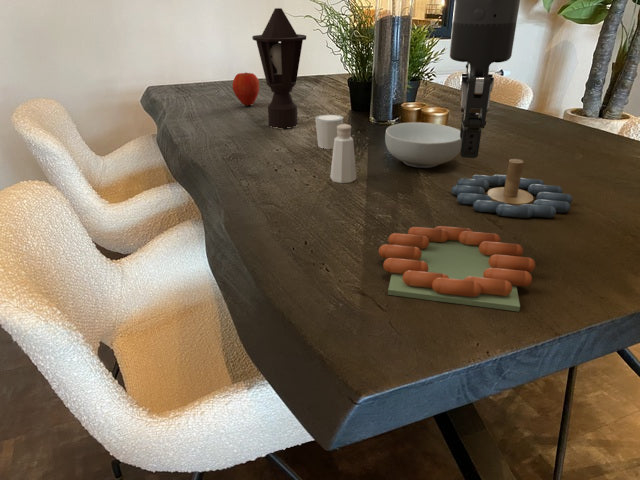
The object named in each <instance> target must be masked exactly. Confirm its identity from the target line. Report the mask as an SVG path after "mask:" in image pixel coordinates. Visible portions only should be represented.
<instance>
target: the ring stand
mask: <svg viewBox="0 0 640 480" xmlns="http://www.w3.org/2000/svg"><path fill="white" fill-rule="evenodd" d="M508 160H509V161H508V165H507V171H506V175H507V176H506V182H505V186H499V187H493V188H490V189H488V191H487V193H486V195H489V196H490V197H491V199H492V201H496V202H505V203H507V204H508V205H516V206H520V205H522V204H531V205H533V203H534V195H532V194H530V193H529V192H528V191H526V190H525V189H519V184H520V179H521V178H522V173H523V169H524V168H523V167H524V164H525V162H524V160H523V159H519V158H510V159H508Z"/></svg>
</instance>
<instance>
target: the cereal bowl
mask: <svg viewBox="0 0 640 480" xmlns="http://www.w3.org/2000/svg"><path fill="white" fill-rule="evenodd" d="M460 130H461V129H458V128H455V127H453V126H448V125H444V124H441V123H440V124H439V123H432V122H416V121H415V122H413V121H412V122H401V123H395V124H391V125H390V126H388V127H387V128H386V130H385V134H384V140H385V147H386V149H387V151H388V152H389V154H390V155H391V156H392V157H393V158H395V159H397V160H399V161H401V162H402V163H403V164H405V165H407V166H409V167H413V168H419V169H431V168H435V167H437V166H439V165H441V164H442V165H443V164H446V163H447V162H448V163H449V162H450V161H453V160H454V159H455V158H456V157H457V156H458V154H459V153H460V151H461V143H462V139H461V138H460Z"/></svg>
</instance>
